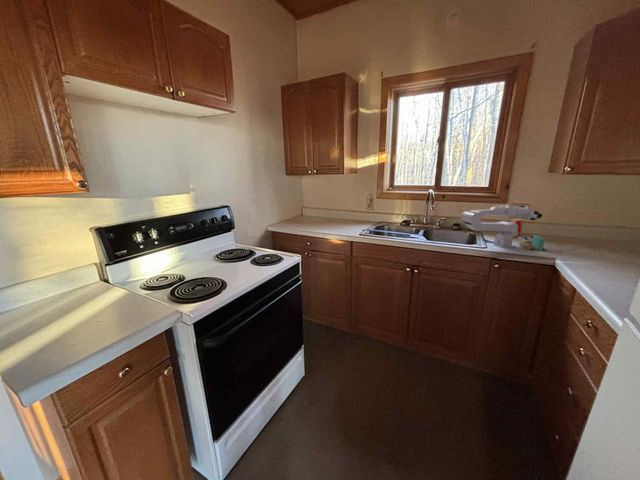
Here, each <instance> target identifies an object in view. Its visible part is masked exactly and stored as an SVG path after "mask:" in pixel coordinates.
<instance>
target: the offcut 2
mask: <svg viewBox="0 0 640 480" xmlns="http://www.w3.org/2000/svg"><path fill="white" fill-rule="evenodd" d="M530 246H531V245H530V244H528V243H523V248H524V249H525V251H531V250H530ZM523 248H522V249H523ZM524 249H523V250H524Z"/></svg>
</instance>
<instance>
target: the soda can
mask: <svg viewBox="0 0 640 480" xmlns="http://www.w3.org/2000/svg"><path fill="white" fill-rule="evenodd" d="M510 223H516V224H517V225H518V230H517V231H516V232H515V234H513V238H516V237H517V238H518V236H520V237H522V234H523V233H522V231H523V226H524V222H523V219H522V218H512V220H510Z"/></svg>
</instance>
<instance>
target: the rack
mask: <svg viewBox="0 0 640 480" xmlns="http://www.w3.org/2000/svg"><path fill="white" fill-rule="evenodd" d="M530 245H531V244H530ZM519 247H520V248H521V249H523V250H525V249H524V248H522V247H521V246H520V245H519ZM546 250H547V249H546V248H545V247H543V251H542V252H546ZM525 251H526V250H525ZM529 251H535V252H540V251H539V250H538V248H536V247H535V246H533V245H531V246H530V250H529Z"/></svg>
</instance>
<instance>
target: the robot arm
mask: <svg viewBox="0 0 640 480" xmlns="http://www.w3.org/2000/svg"><path fill="white" fill-rule="evenodd" d="M484 216H485V217H486V216H492V217H499V216H500V217H501V216H510V217H519V218H527V219H529V218H530V219H529V220H532V221H535V220H537V219H541V218H543V214H542V213H540V212H539V211H537V210H534V212H533V210H531V209H530V206H528V205H526V206H525V205H520V206H513V205H506V204H501V205H500V206H499V205H494V206H492V207H490V208H488V209H474V210H473V209H472V210H471V209H470V210H468V211H466V210H465V211H463V212H462V213H461V214H460V216H459V217H460V218H459V219H460V220H461V223H462V224H464V225H465V226H467V227H468V228H469V229H471V230H473V231H476V232H477V231H479V232H484V231H485V232H487V231H488V232H489V231H490V232H491V231H492V232H496V231H497V232H499V233H497V234H496V235H495V236H494V243H493V246H496V247H500V248H510V247H512V246H513V241H514V237H513V234H515V232H516V231H517V230H518V225H517V224H516V223H511V221H510V222H509V221H505V220H501V221H497V222H482V218H483V217H484Z"/></svg>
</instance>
